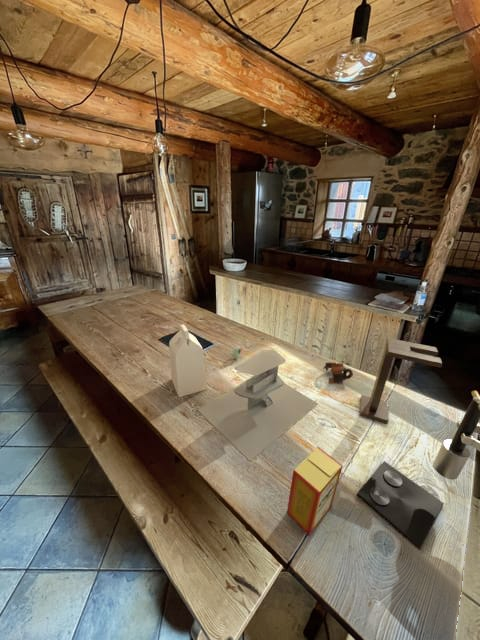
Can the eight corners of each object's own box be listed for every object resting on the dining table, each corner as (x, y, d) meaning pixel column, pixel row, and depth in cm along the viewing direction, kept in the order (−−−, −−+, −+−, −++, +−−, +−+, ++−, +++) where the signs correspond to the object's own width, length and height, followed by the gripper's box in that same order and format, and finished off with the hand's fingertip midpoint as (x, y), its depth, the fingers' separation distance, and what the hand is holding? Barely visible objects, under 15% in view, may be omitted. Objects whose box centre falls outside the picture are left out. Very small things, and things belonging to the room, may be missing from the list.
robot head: (236, 353, 130) (236, 341, 127) (243, 355, 129) (244, 343, 126) (228, 361, 124) (228, 349, 121) (236, 363, 122) (236, 351, 119)
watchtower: (250, 461, 78) (252, 411, 69) (196, 409, 96) (193, 364, 88) (318, 403, 100) (326, 360, 91) (264, 370, 118) (266, 331, 110)
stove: (442, 505, 67) (444, 502, 67) (419, 549, 59) (421, 546, 58) (383, 463, 78) (384, 460, 77) (356, 495, 69) (357, 492, 69)
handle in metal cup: (454, 462, 69) (490, 394, 60) (461, 486, 63) (502, 415, 54) (430, 455, 71) (461, 387, 62) (435, 477, 65) (470, 407, 56)
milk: (207, 389, 106) (204, 331, 95) (178, 397, 102) (172, 338, 90) (197, 372, 116) (194, 318, 105) (171, 379, 111) (165, 323, 100)
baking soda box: (308, 535, 61) (319, 492, 54) (286, 512, 65) (293, 469, 59) (331, 506, 67) (342, 464, 60) (309, 487, 71) (318, 445, 64)
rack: (411, 412, 97) (436, 347, 85) (414, 432, 88) (442, 363, 77) (360, 397, 103) (377, 335, 91) (359, 415, 95) (377, 349, 83)
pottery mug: (321, 382, 112) (321, 362, 112) (326, 380, 120) (326, 361, 121) (352, 385, 106) (351, 364, 106) (355, 382, 114) (354, 363, 115)
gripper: (557, 509, 50) (467, 478, 55) (511, 430, 67) (445, 412, 72) (576, 487, 47) (479, 457, 52) (523, 411, 64) (453, 394, 69)
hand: (459, 431), depth 62 cm, fingers closed on handle in metal cup, 2 cm apart
